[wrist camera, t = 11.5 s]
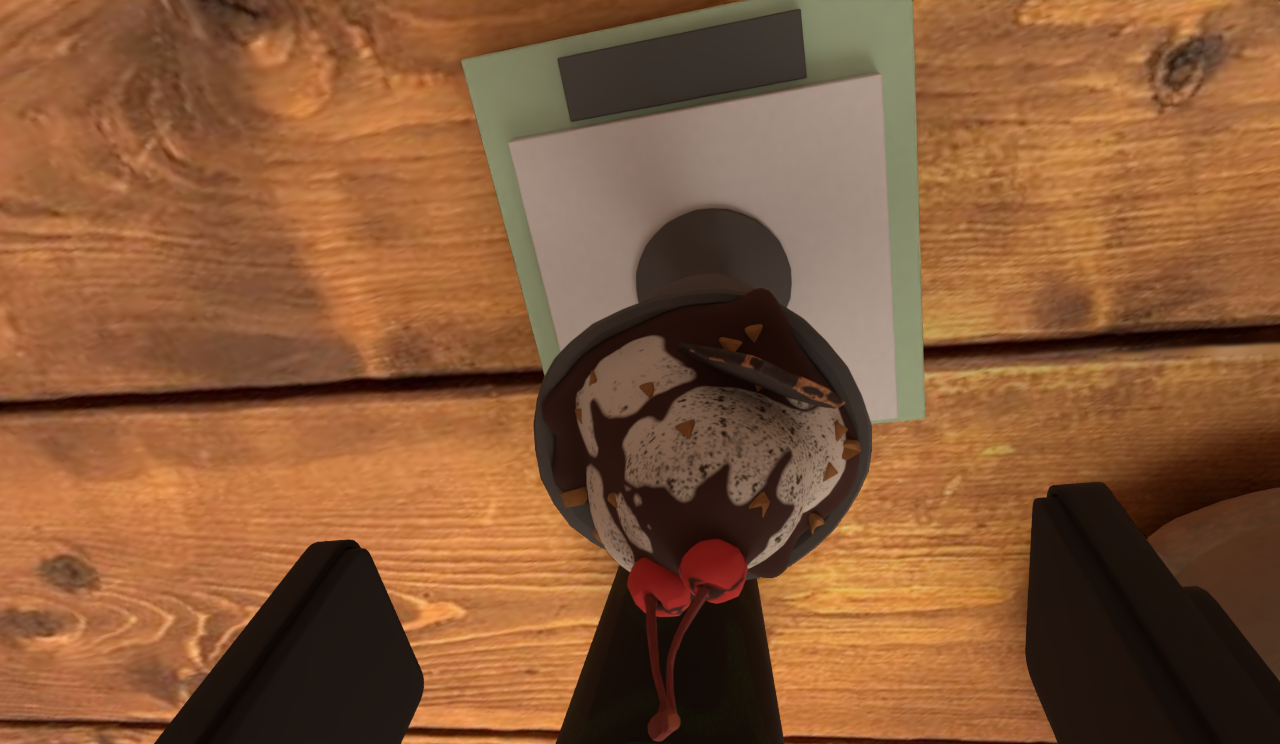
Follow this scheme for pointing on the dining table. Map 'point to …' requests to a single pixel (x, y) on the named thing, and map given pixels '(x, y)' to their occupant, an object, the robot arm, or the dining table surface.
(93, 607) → the dining table surface
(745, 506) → the sundae
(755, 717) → the cup
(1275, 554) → the bowl
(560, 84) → the scale
